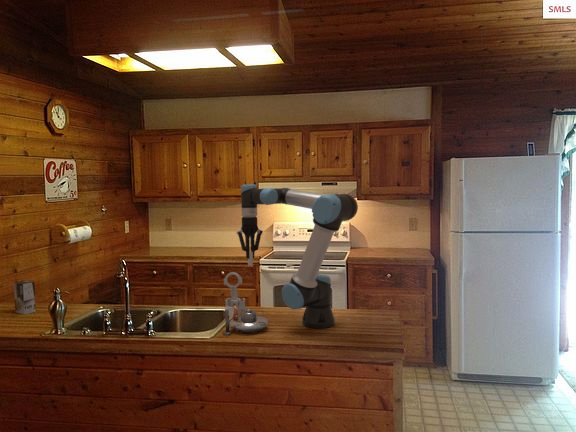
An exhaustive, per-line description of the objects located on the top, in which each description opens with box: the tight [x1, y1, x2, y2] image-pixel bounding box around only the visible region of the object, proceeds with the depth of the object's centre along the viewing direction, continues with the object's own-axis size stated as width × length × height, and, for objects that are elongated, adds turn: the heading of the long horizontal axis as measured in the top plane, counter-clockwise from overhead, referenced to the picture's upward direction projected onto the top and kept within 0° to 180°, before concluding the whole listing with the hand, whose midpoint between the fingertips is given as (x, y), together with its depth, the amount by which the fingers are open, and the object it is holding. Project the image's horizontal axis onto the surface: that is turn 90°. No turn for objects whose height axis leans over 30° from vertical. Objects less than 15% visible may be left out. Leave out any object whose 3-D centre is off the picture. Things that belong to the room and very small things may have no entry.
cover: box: [240, 308, 258, 323], centre depth 213 cm, size 7×7×5 cm
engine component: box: [223, 271, 246, 315], centre depth 244 cm, size 11×20×10 cm
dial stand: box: [222, 306, 234, 336], centre depth 207 cm, size 4×4×12 cm
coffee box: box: [13, 280, 37, 315], centre depth 249 cm, size 9×6×16 cm
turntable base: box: [235, 328, 263, 335], centre depth 213 cm, size 12×12×2 cm
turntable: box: [229, 306, 269, 330], centre depth 213 cm, size 17×17×8 cm
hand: (250, 265), depth 229 cm, fingers closed
